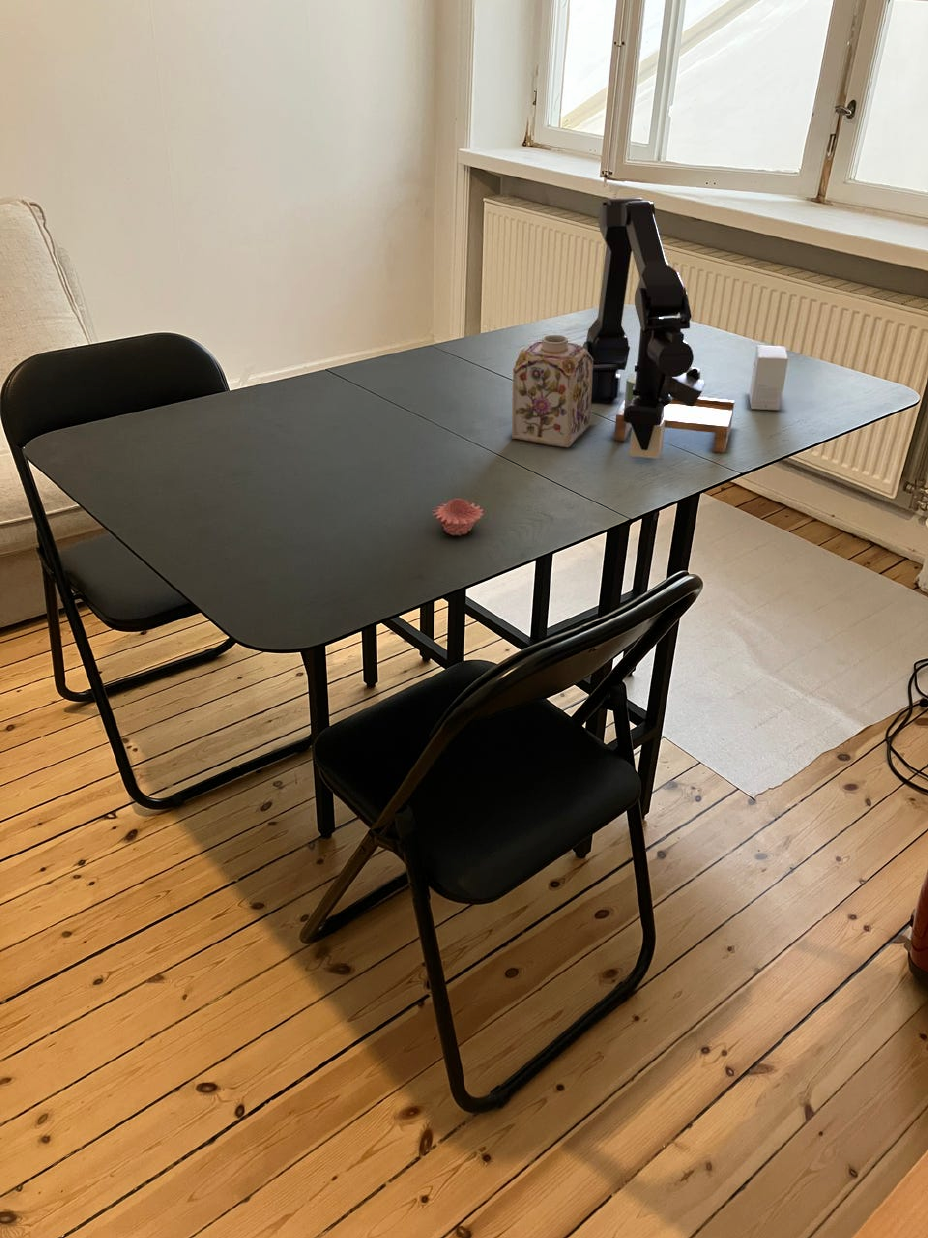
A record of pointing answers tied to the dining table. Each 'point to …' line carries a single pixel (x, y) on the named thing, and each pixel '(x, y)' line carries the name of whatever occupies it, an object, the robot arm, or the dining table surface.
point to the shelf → (690, 419)
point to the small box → (768, 377)
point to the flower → (458, 516)
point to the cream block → (654, 444)
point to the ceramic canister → (630, 389)
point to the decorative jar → (552, 392)
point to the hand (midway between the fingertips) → (646, 443)
